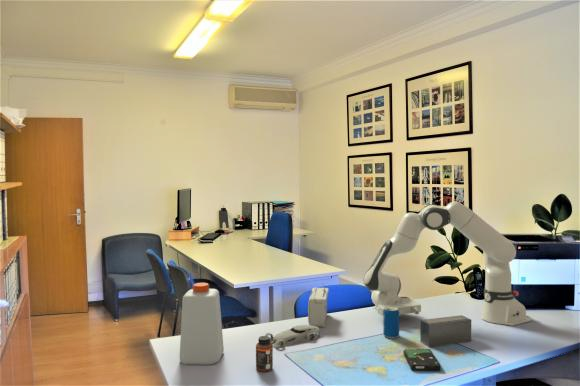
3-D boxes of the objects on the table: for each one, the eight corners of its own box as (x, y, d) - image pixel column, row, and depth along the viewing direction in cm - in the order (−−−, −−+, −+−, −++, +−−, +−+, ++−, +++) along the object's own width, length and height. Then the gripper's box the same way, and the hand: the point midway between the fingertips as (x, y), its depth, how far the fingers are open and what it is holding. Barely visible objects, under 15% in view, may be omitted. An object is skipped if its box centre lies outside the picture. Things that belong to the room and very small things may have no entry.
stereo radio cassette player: (312, 313, 226) (311, 273, 225) (328, 314, 225) (328, 273, 224) (307, 327, 206) (307, 283, 205) (326, 328, 204) (326, 284, 203)
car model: (262, 341, 190) (262, 330, 190) (309, 330, 203) (309, 319, 203) (276, 350, 181) (275, 338, 180) (325, 338, 194) (325, 326, 194)
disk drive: (441, 373, 161) (429, 355, 175) (441, 365, 160) (430, 348, 175) (411, 372, 161) (402, 355, 176) (411, 364, 161) (402, 348, 175)
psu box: (461, 336, 194) (461, 314, 194) (471, 341, 188) (471, 319, 188) (419, 341, 188) (420, 319, 188) (428, 347, 182) (429, 324, 182)
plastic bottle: (187, 349, 181) (186, 279, 180) (225, 349, 181) (224, 279, 180) (176, 365, 166) (175, 289, 165) (218, 366, 166) (217, 289, 164)
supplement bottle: (273, 372, 161) (272, 340, 160) (256, 372, 160) (255, 341, 160) (272, 364, 167) (272, 334, 166) (256, 365, 166) (255, 334, 165)
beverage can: (381, 333, 197) (381, 306, 197) (396, 333, 198) (396, 305, 197) (386, 339, 191) (386, 310, 190) (401, 338, 192) (401, 310, 191)
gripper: (373, 300, 215) (387, 308, 202) (411, 296, 221) (428, 304, 208) (373, 313, 216) (387, 323, 202) (411, 309, 222) (427, 318, 208)
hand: (408, 313), depth 205 cm, fingers open, 8 cm apart
